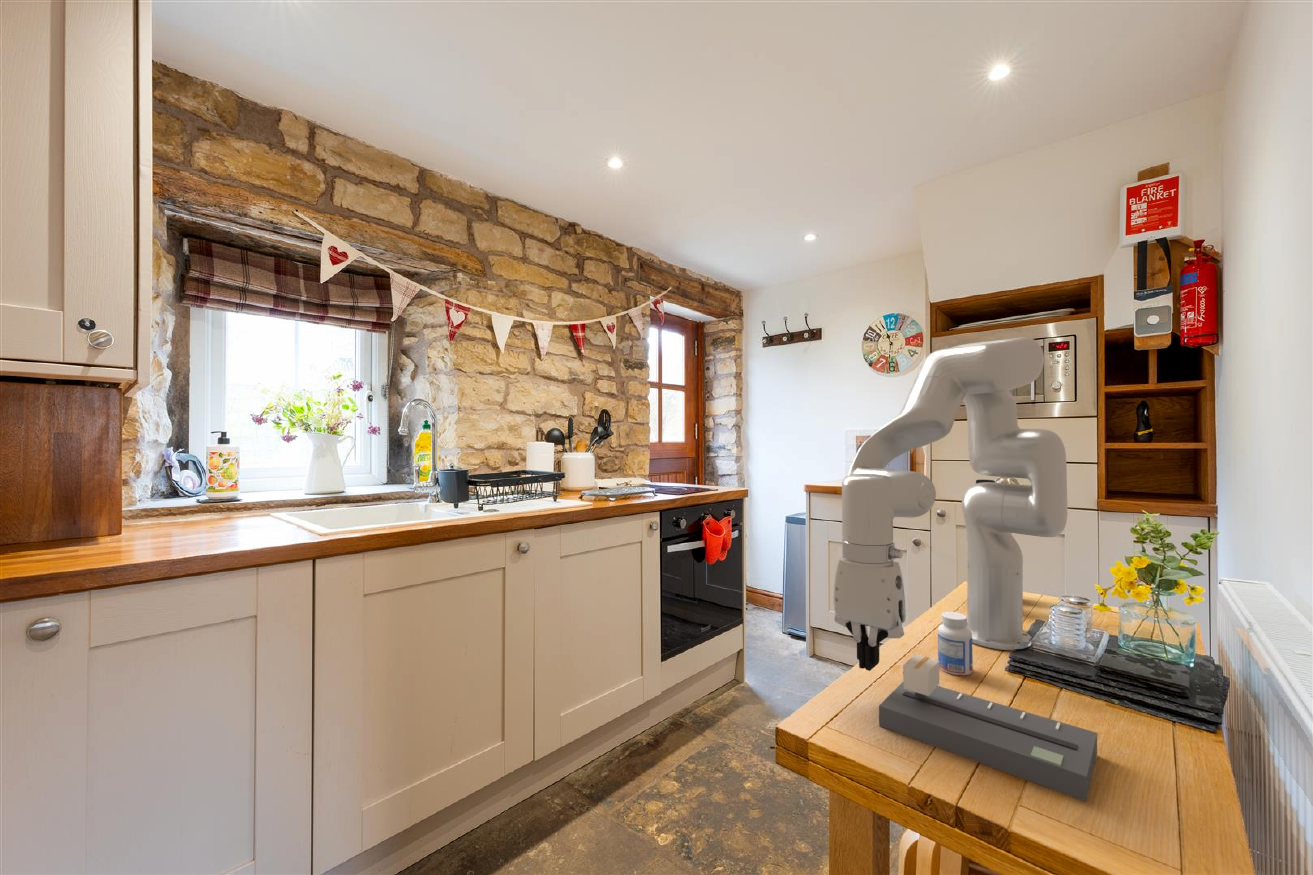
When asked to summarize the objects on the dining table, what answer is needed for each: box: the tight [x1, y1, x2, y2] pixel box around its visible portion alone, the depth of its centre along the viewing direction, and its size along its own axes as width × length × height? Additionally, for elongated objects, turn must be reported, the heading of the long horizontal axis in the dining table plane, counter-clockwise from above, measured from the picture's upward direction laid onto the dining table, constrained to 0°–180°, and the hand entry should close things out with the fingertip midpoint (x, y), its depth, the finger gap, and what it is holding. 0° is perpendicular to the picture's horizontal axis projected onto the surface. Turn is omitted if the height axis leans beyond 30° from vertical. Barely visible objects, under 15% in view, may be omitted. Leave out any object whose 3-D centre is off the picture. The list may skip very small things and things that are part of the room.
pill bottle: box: [937, 611, 974, 676], centre depth 98 cm, size 6×5×10 cm
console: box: [878, 681, 1098, 803], centre depth 76 cm, size 12×24×3 cm, turn 47°
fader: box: [902, 654, 940, 699], centre depth 82 cm, size 5×4×5 cm
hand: (868, 666), depth 87 cm, fingers closed
